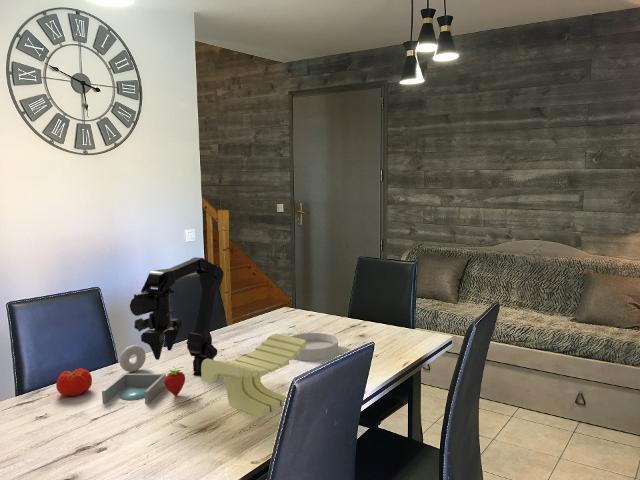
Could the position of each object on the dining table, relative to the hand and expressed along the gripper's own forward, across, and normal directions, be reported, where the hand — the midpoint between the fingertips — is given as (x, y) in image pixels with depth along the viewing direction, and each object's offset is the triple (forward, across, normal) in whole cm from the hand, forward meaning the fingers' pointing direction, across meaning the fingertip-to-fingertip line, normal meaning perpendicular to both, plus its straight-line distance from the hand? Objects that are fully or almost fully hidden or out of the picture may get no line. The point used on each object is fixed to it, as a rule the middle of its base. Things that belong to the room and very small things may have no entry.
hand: (163, 354), depth 171 cm
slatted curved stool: (+13, +6, +33) cm, 36 cm away
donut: (+13, -16, -20) cm, 29 cm away
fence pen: (+12, +3, -9) cm, 16 cm away
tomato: (+13, +4, -30) cm, 33 cm away
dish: (+13, -43, +43) cm, 62 cm away
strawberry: (+13, +3, +5) cm, 14 cm away
